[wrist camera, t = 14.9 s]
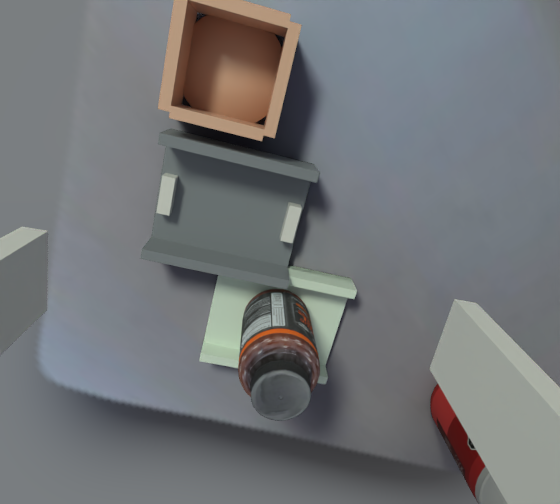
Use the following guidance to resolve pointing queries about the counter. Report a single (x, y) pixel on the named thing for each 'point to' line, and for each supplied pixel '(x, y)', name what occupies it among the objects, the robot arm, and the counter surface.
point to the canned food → (464, 451)
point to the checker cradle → (227, 209)
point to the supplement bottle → (278, 354)
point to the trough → (303, 282)
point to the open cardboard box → (228, 65)
